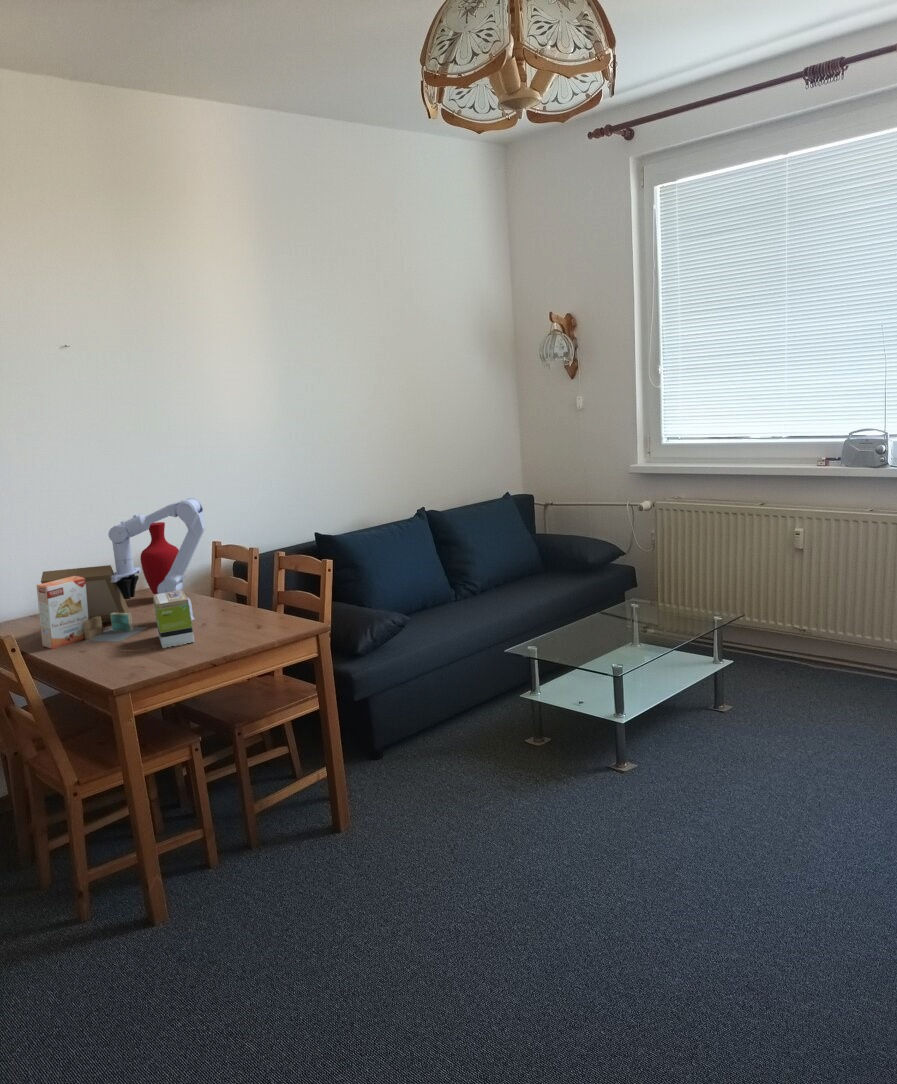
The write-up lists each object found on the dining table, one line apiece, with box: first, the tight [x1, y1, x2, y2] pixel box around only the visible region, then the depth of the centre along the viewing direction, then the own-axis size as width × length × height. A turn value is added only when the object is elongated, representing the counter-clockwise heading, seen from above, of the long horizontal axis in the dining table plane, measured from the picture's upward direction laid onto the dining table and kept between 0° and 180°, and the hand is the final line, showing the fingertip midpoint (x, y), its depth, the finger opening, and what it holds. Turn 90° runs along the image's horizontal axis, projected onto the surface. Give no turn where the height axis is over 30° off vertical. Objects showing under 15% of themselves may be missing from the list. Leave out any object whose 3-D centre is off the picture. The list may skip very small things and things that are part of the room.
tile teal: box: [110, 612, 134, 631], centre depth 287 cm, size 7×2×6 cm, turn 75°
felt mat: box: [82, 626, 149, 643], centre depth 284 cm, size 14×16×1 cm
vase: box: [140, 521, 180, 595], centre depth 329 cm, size 15×15×30 cm
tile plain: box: [83, 616, 104, 640], centre depth 282 cm, size 7×2×6 cm, turn 165°
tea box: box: [152, 589, 195, 649], centre depth 271 cm, size 15×10×15 cm
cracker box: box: [36, 576, 89, 650], centre depth 276 cm, size 14×6×21 cm, turn 148°
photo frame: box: [40, 564, 130, 623], centre depth 293 cm, size 15×22×25 cm
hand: (129, 597), depth 293 cm, fingers closed
